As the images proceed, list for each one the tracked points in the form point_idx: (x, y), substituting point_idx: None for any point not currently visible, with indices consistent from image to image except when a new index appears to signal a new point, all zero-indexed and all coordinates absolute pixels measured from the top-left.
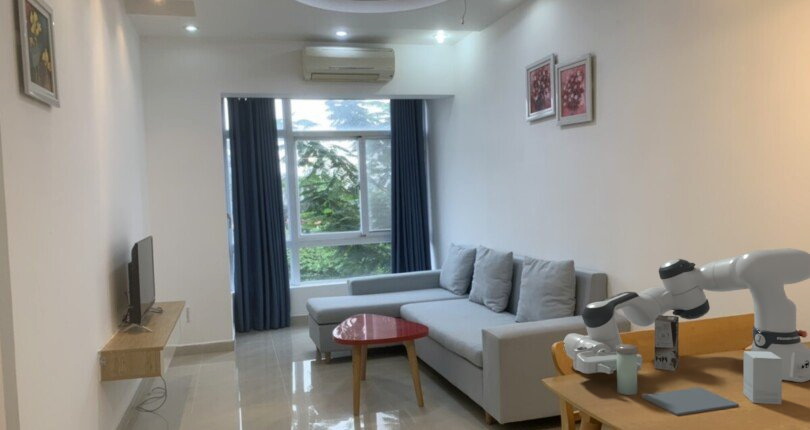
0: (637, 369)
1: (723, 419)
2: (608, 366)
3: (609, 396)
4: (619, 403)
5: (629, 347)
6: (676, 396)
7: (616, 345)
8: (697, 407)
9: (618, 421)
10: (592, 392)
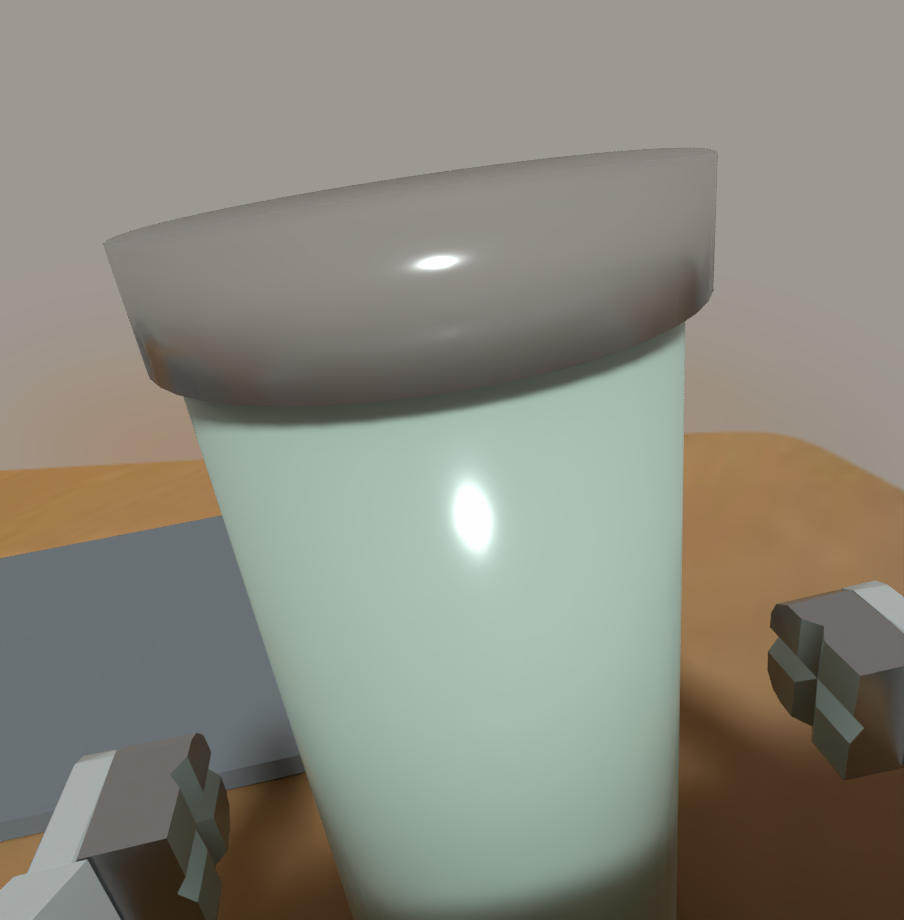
0: (213, 790)
1: (200, 480)
2: (892, 655)
3: (815, 790)
4: (714, 626)
5: (369, 190)
6: (130, 684)
7: (667, 171)
8: (200, 535)
9: (762, 441)
10: None
